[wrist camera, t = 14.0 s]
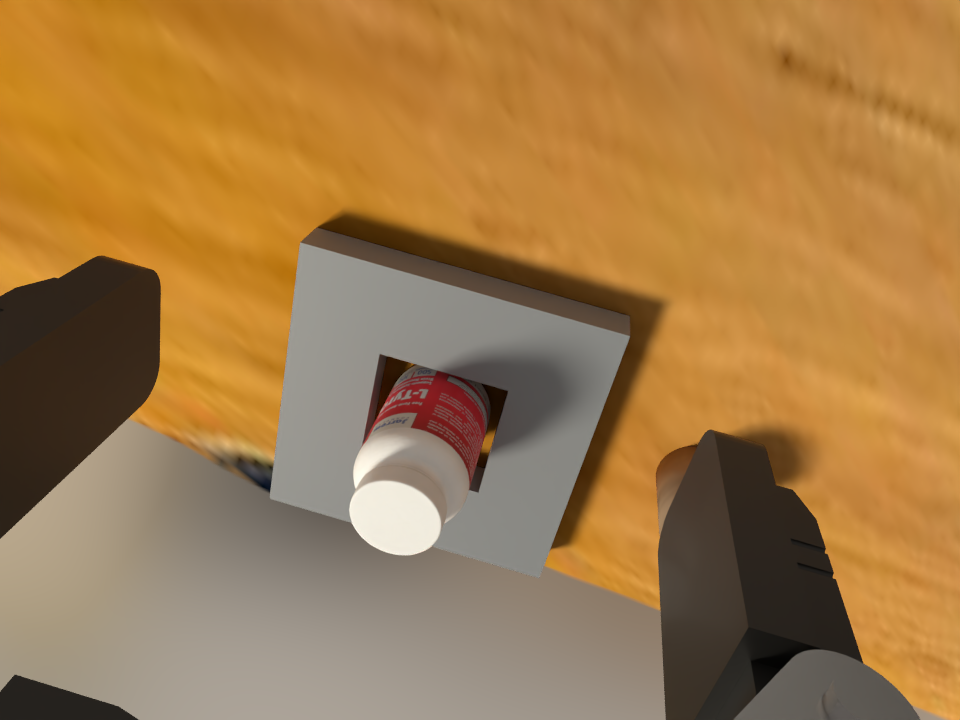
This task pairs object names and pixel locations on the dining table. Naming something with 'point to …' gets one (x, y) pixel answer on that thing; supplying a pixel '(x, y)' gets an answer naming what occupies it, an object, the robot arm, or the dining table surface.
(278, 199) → the dining table surface
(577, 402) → the hole plate
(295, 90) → the dining table surface
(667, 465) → the walnut stub
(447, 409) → the pill bottle
